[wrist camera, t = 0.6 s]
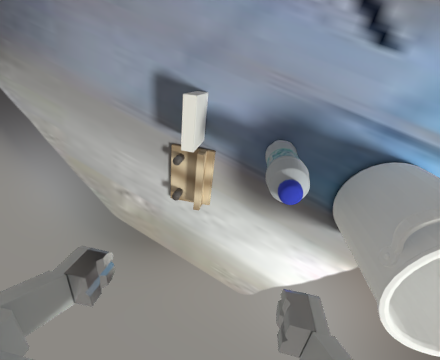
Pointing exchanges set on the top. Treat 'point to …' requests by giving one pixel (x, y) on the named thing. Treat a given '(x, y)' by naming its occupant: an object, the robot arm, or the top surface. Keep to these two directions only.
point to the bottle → (286, 173)
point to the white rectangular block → (193, 120)
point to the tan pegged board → (192, 175)
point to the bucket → (397, 246)
